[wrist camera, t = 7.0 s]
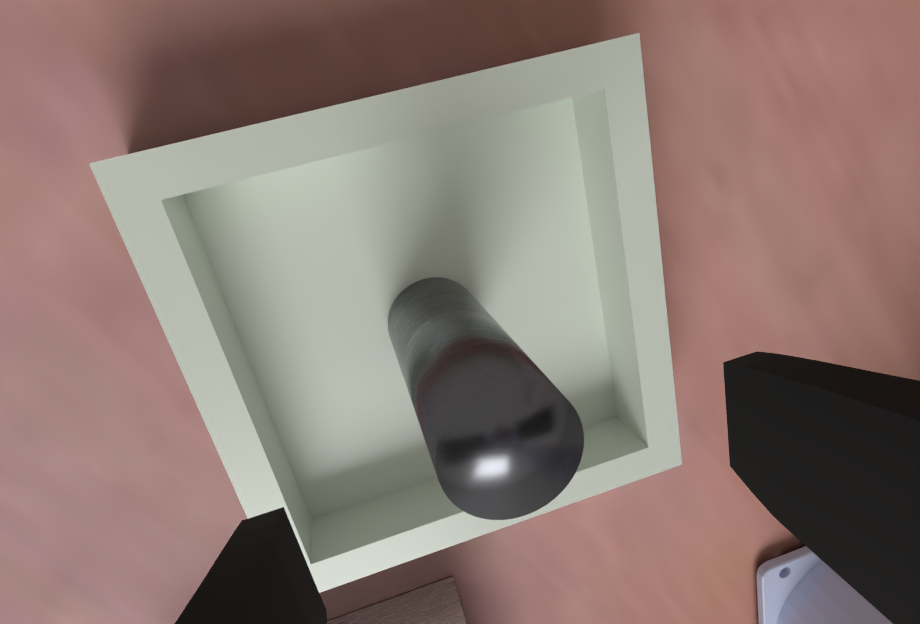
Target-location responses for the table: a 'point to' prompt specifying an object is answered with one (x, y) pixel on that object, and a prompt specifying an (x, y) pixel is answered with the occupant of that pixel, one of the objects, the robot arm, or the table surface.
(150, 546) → the table surface
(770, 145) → the table surface
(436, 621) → the block
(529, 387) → the pin
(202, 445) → the table surface
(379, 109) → the tray
